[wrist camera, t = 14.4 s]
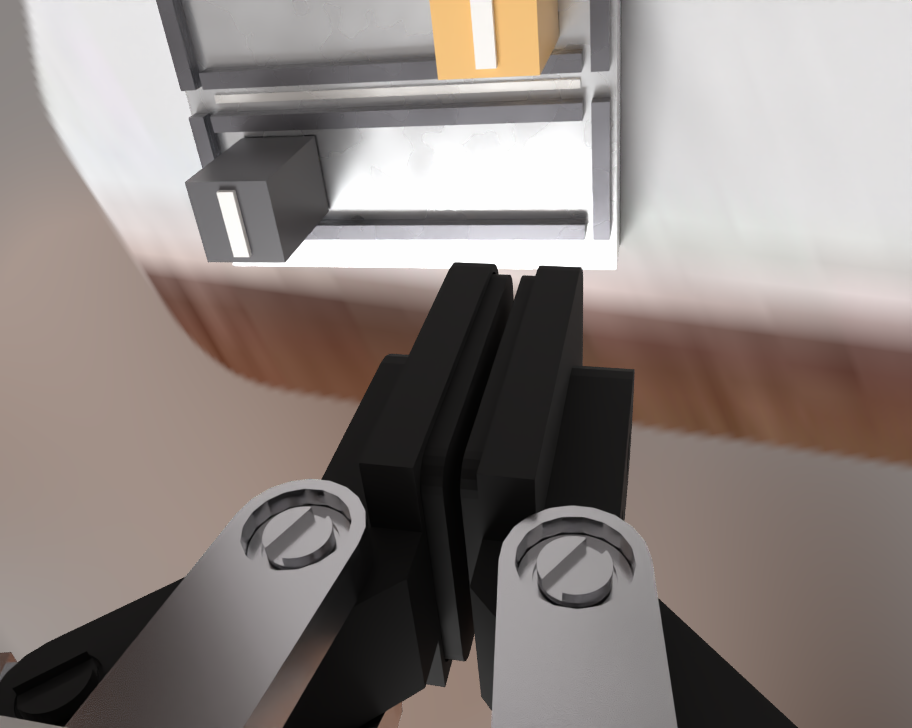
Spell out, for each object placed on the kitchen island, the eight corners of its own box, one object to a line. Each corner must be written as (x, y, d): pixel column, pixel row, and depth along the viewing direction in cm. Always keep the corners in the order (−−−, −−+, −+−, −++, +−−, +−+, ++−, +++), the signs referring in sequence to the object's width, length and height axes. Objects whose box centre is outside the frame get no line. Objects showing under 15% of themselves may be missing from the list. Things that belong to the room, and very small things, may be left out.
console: (160, -117, 30) (120, -110, 27) (621, -169, 26) (615, -166, 24) (252, 245, 37) (226, 272, 35) (619, 246, 33) (615, 277, 31)
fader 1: (241, 138, 32) (182, 184, 28) (314, 136, 31) (263, 183, 27) (259, 211, 34) (205, 264, 30) (329, 211, 33) (282, 265, 29)
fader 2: (461, -56, 27) (423, -31, 23) (555, -64, 26) (533, -40, 22) (469, 43, 28) (436, 81, 24) (558, 38, 27) (539, 77, 24)
